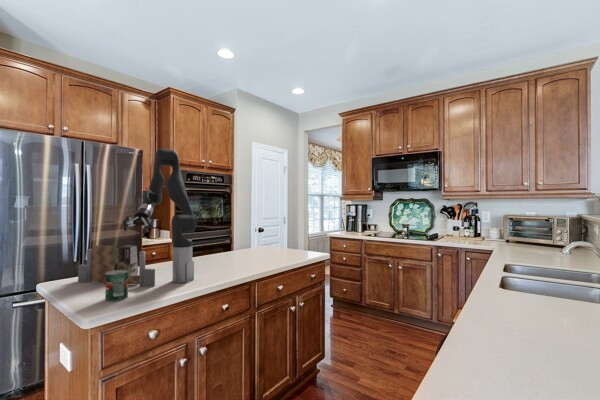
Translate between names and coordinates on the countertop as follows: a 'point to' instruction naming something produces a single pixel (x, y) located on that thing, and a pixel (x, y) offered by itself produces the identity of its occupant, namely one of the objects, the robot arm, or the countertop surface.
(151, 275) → the fence
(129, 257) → the coffee box
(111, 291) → the canned tomato
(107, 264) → the gate
